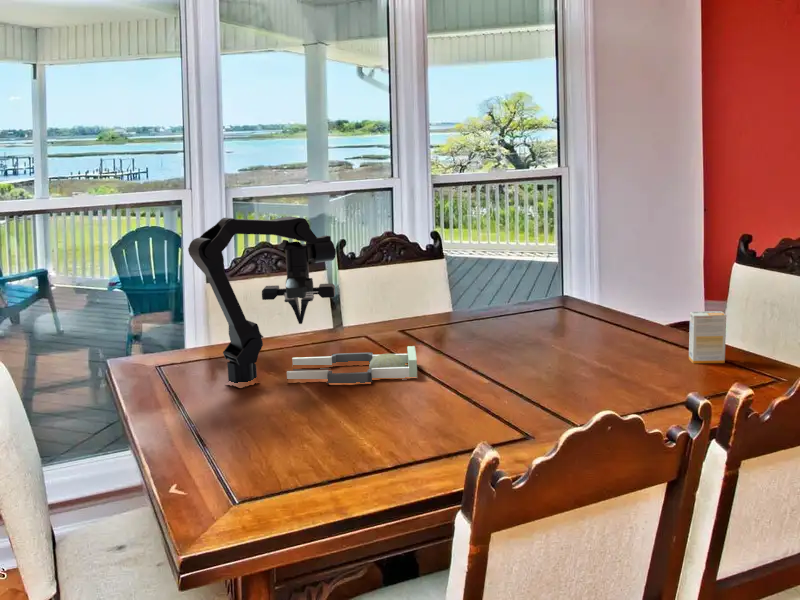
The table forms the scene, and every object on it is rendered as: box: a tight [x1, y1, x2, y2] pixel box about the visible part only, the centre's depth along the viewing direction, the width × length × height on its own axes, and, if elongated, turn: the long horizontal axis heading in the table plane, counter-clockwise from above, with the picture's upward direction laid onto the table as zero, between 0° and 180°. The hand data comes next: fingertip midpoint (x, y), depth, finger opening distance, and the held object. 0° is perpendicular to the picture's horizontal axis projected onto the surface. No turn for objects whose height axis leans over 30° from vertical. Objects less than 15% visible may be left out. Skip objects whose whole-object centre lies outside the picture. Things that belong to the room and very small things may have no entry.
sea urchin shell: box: [368, 353, 406, 369], centre depth 217 cm, size 9×8×8 cm
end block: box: [406, 345, 418, 378], centre depth 217 cm, size 2×14×5 cm, turn 1°
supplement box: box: [688, 310, 727, 364], centre depth 217 cm, size 8×5×13 cm, turn 84°
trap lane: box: [286, 351, 409, 384], centre depth 217 cm, size 31×20×3 cm, turn 91°
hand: (300, 323), depth 219 cm, fingers closed
